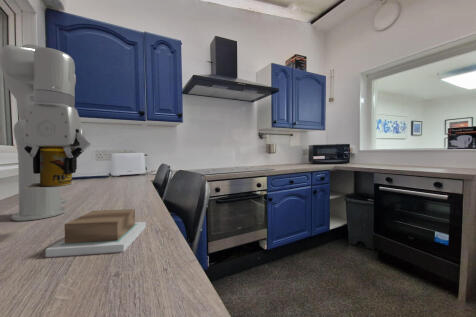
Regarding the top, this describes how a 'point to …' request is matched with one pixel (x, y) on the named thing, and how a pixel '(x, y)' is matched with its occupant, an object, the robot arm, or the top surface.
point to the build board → (96, 244)
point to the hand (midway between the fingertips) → (55, 172)
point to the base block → (100, 226)
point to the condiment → (52, 168)
